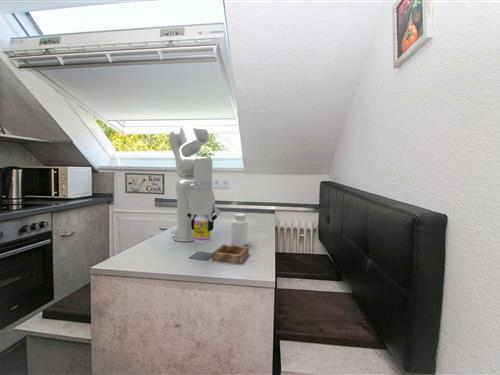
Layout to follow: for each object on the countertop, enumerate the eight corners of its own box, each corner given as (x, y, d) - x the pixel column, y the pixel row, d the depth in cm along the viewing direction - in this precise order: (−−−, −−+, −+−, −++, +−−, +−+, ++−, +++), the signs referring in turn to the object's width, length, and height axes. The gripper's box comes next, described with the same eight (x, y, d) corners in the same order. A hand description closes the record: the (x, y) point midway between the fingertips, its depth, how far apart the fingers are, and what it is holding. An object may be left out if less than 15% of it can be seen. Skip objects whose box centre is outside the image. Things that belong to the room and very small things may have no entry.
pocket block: (212, 260, 94) (212, 253, 94) (222, 250, 106) (223, 244, 105) (240, 263, 91) (240, 256, 91) (248, 253, 103) (248, 247, 102)
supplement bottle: (190, 241, 96) (190, 210, 95) (199, 237, 102) (199, 208, 101) (204, 243, 93) (205, 211, 93) (213, 239, 100) (213, 209, 99)
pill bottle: (240, 247, 111) (241, 216, 110) (227, 244, 115) (228, 214, 115) (250, 244, 117) (251, 214, 116) (238, 240, 122) (238, 212, 121)
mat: (188, 258, 95) (188, 257, 95) (197, 252, 103) (197, 251, 103) (206, 260, 94) (206, 259, 93) (214, 254, 101) (214, 253, 101)
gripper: (179, 186, 95) (178, 230, 96) (219, 188, 91) (218, 233, 92) (188, 186, 102) (188, 226, 103) (225, 187, 98) (225, 229, 99)
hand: (202, 229), depth 98 cm, fingers closed on supplement bottle, 6 cm apart
